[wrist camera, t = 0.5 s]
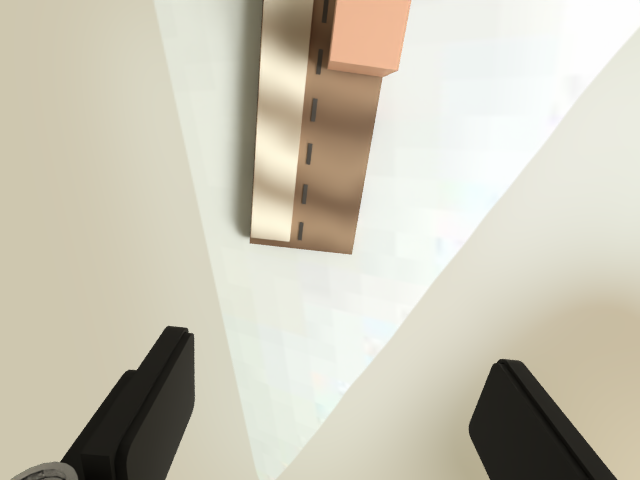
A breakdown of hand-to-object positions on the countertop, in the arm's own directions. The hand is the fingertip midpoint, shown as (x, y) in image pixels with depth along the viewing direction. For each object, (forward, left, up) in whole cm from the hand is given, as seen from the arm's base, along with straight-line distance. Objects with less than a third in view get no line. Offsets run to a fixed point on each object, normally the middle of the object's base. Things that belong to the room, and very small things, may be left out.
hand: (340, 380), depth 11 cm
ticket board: (-7, -2, -27) cm, 28 cm away
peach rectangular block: (-14, +1, -25) cm, 29 cm away
